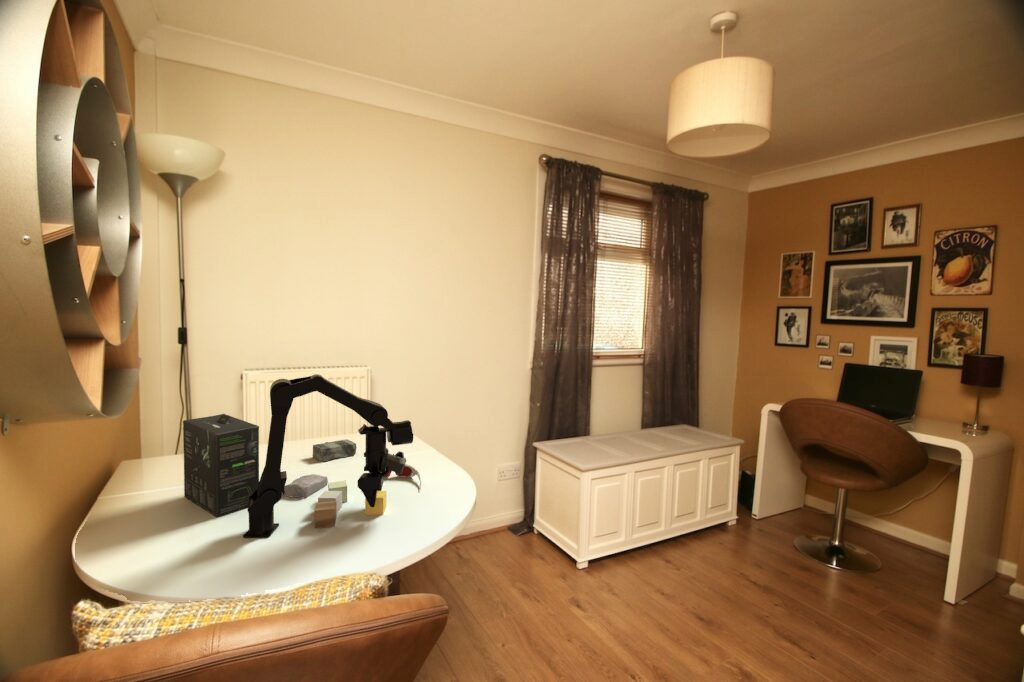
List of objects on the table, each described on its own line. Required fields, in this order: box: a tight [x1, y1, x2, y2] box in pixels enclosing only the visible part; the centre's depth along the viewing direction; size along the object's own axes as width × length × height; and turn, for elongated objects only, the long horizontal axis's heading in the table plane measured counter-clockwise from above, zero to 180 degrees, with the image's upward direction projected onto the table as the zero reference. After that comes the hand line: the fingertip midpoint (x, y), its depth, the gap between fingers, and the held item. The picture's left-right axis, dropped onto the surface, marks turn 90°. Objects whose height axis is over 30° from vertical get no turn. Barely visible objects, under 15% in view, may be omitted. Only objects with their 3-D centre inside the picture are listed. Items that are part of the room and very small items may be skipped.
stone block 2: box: [312, 439, 357, 463], centre depth 178 cm, size 9×14×5 cm, turn 137°
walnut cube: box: [314, 501, 338, 529], centre depth 123 cm, size 5×5×5 cm
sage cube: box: [327, 480, 348, 504], centre depth 138 cm, size 5×5×5 cm
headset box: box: [182, 413, 260, 518], centre depth 135 cm, size 22×12×26 cm, turn 56°
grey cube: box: [317, 490, 343, 514], centre depth 130 cm, size 5×5×5 cm
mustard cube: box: [364, 490, 387, 516], centre depth 131 cm, size 5×5×5 cm
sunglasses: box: [384, 463, 422, 493], centre depth 150 cm, size 17×17×5 cm
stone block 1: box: [283, 473, 329, 499], centre depth 145 cm, size 12×5×10 cm
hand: (375, 499), depth 131 cm, fingers open, 9 cm apart
